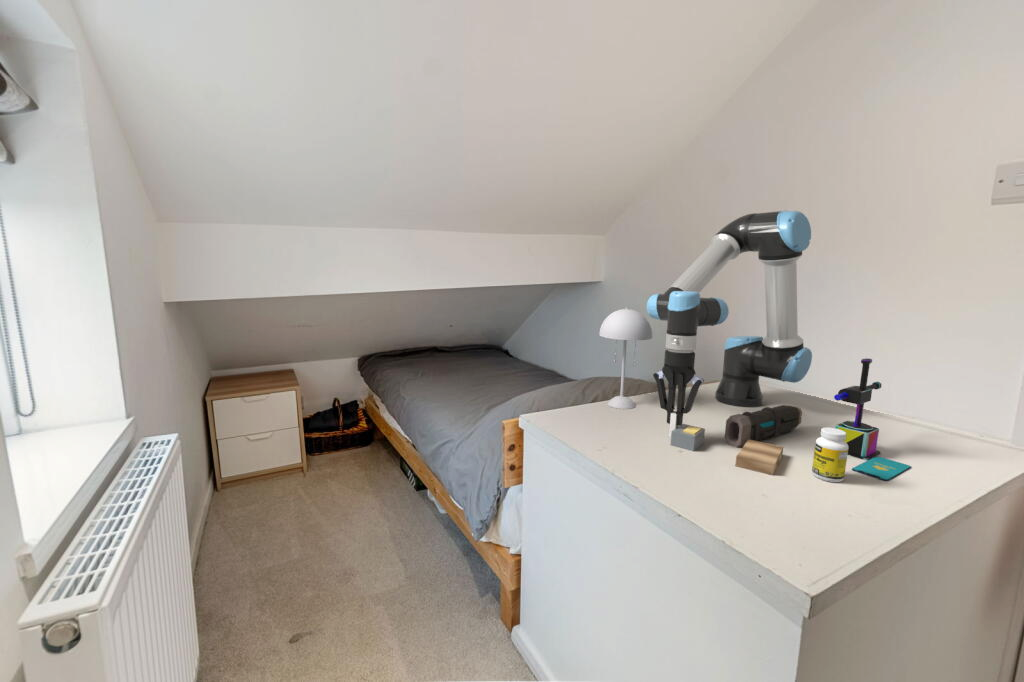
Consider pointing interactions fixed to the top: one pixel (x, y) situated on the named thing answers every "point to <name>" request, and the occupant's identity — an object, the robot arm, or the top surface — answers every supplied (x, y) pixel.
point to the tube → (761, 424)
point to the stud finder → (687, 437)
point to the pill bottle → (830, 455)
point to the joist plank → (759, 456)
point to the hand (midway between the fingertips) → (673, 435)
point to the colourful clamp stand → (860, 418)
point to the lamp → (625, 342)
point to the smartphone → (881, 468)
